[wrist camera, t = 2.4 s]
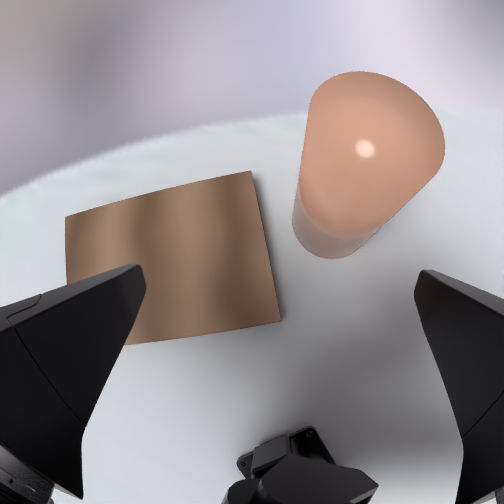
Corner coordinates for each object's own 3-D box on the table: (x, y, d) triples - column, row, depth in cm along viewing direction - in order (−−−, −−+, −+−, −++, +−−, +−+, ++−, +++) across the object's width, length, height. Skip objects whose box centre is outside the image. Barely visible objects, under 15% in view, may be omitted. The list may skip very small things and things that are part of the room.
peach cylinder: (381, 235, 23) (468, 157, 11) (317, 273, 23) (367, 217, 11) (341, 173, 25) (386, 59, 12) (277, 205, 25) (280, 96, 12)
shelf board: (252, 181, 25) (251, 170, 23) (280, 321, 23) (281, 321, 21) (77, 223, 25) (65, 217, 23) (87, 348, 23) (74, 349, 21)
